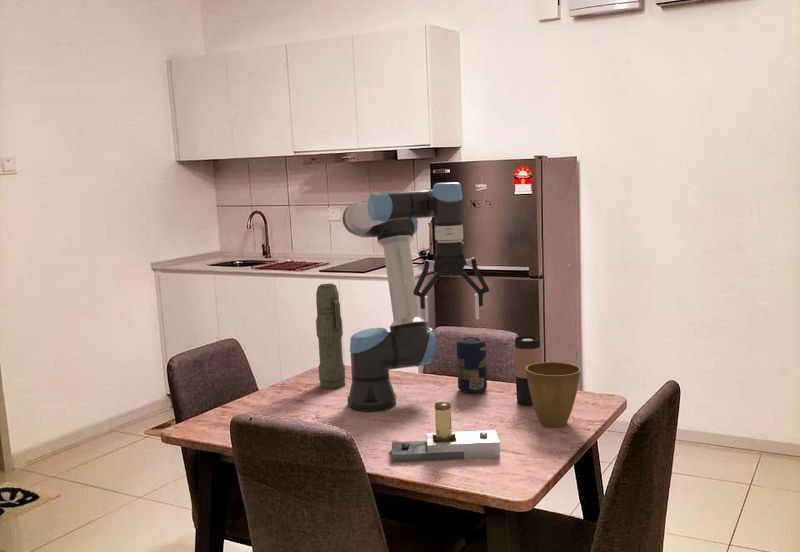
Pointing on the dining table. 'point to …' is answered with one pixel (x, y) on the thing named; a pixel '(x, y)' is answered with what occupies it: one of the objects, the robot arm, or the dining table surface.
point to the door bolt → (449, 447)
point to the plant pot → (553, 391)
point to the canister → (471, 365)
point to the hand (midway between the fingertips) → (452, 319)
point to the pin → (443, 422)
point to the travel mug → (525, 365)
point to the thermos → (329, 337)
